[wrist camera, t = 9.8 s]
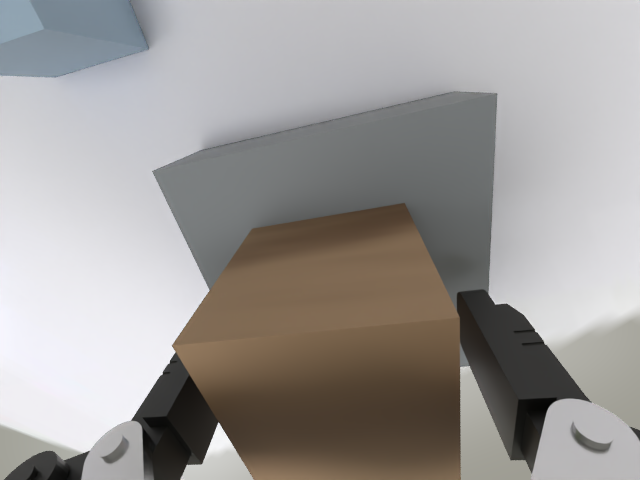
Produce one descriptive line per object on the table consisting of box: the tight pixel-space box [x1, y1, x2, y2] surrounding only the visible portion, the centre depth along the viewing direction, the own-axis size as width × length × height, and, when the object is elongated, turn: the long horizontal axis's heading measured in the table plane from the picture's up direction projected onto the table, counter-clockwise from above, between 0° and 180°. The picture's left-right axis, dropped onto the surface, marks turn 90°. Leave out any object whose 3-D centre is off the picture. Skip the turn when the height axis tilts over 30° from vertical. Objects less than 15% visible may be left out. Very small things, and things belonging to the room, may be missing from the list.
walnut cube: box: [172, 203, 461, 480], centre depth 10 cm, size 6×6×6 cm
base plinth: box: [152, 92, 497, 367], centre depth 14 cm, size 12×12×4 cm
